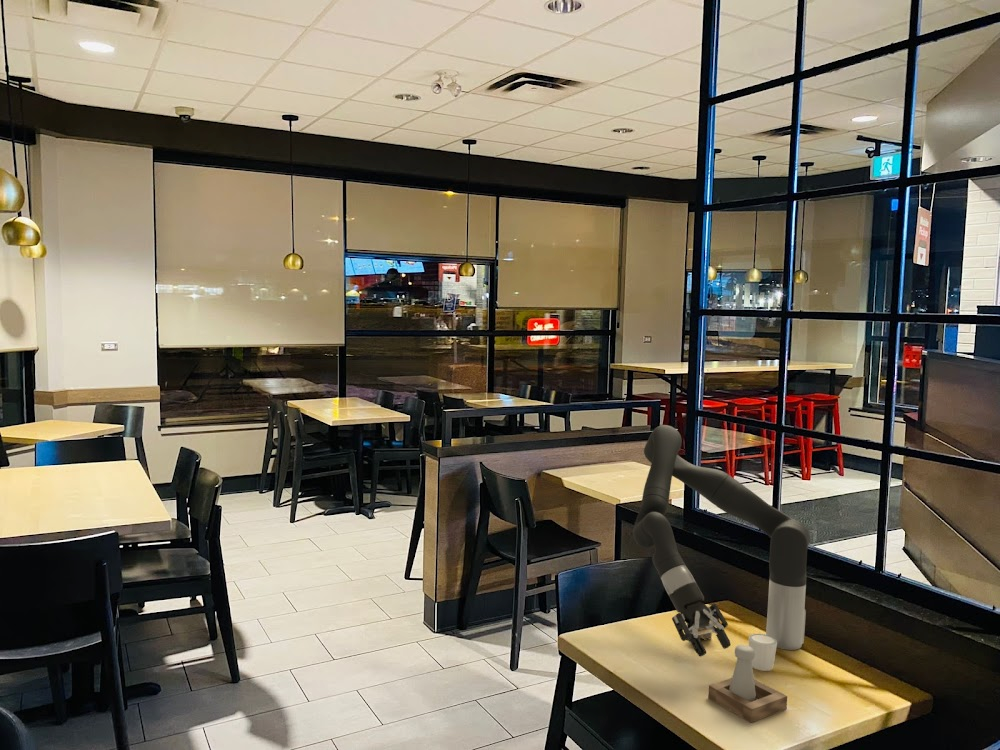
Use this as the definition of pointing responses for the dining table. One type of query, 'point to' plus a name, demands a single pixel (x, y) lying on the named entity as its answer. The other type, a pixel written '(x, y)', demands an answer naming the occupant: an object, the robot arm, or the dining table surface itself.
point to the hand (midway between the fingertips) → (715, 651)
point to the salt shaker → (743, 673)
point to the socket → (751, 711)
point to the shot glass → (763, 651)
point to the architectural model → (704, 633)
